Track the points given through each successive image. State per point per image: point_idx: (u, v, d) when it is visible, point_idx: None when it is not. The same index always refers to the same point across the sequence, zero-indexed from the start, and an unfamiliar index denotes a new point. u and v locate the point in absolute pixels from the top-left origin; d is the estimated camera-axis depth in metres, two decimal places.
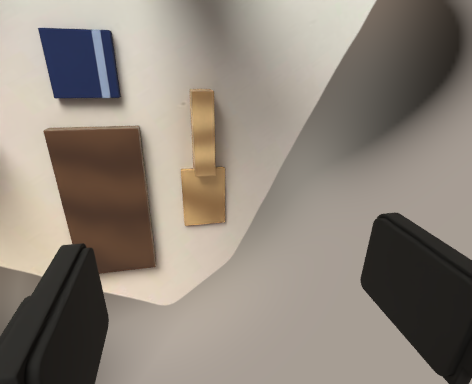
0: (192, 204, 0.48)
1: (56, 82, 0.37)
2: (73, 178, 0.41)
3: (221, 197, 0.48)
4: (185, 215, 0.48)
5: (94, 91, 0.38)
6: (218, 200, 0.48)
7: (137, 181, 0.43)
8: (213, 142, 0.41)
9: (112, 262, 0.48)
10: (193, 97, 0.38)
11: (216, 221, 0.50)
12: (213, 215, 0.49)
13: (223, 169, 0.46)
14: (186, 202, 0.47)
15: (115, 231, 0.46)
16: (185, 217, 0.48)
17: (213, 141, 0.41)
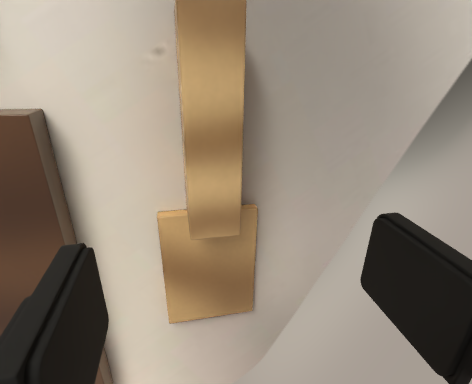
0: (184, 284, 0.22)
1: None
2: None
3: (247, 267, 0.23)
4: (170, 305, 0.23)
5: None
6: (240, 273, 0.23)
7: (46, 248, 0.17)
8: (239, 155, 0.15)
9: None
10: (181, 19, 0.12)
11: (235, 310, 0.24)
12: (229, 301, 0.24)
13: (254, 211, 0.21)
14: (170, 280, 0.22)
15: None
16: (170, 308, 0.23)
17: (239, 152, 0.15)
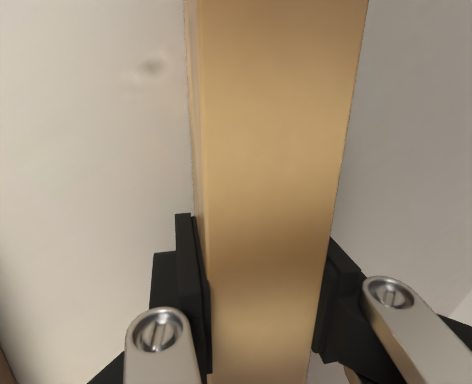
0: None
1: None
2: None
3: None
4: None
5: None
6: None
7: None
8: (316, 280, 0.07)
9: None
10: None
11: None
12: None
13: None
14: None
15: None
16: None
17: (317, 275, 0.07)
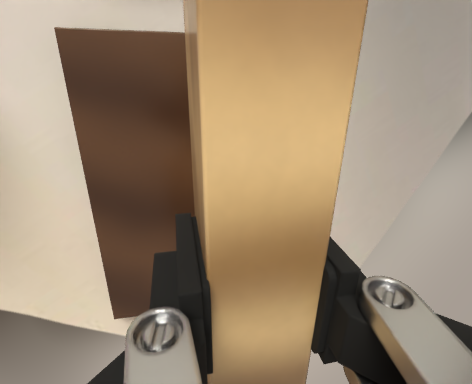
0: None
1: None
2: (111, 138, 0.21)
3: None
4: None
5: None
6: None
7: None
8: (316, 281, 0.07)
9: None
10: None
11: None
12: None
13: None
14: None
15: None
16: None
17: (317, 276, 0.07)
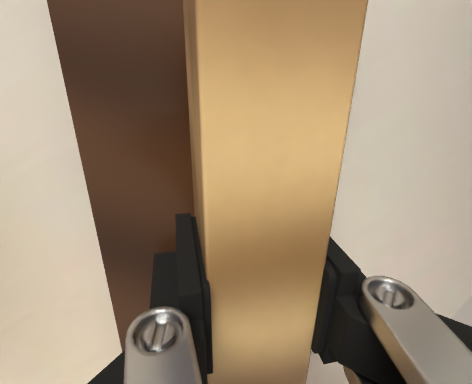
0: None
1: None
2: (138, 157, 0.13)
3: None
4: None
5: None
6: None
7: None
8: (316, 281, 0.07)
9: None
10: None
11: None
12: None
13: None
14: None
15: None
16: None
17: (317, 277, 0.07)
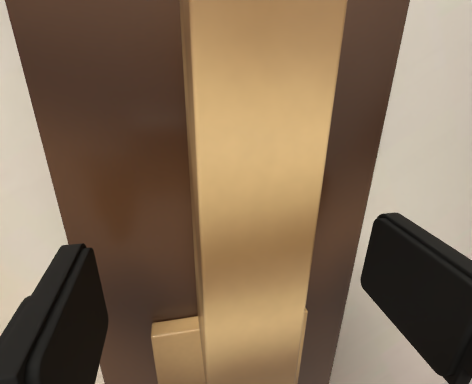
0: None
1: None
2: (127, 189, 0.10)
3: None
4: None
5: None
6: None
7: (346, 199, 0.12)
8: (304, 273, 0.08)
9: None
10: (200, 9, 0.05)
11: None
12: None
13: None
14: None
15: None
16: None
17: (305, 269, 0.08)
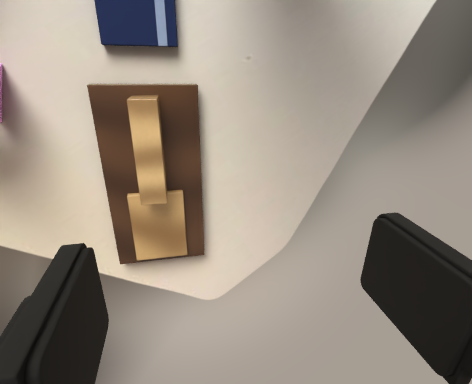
0: (144, 235, 0.39)
1: (105, 23, 0.30)
2: (118, 145, 0.35)
3: (180, 226, 0.40)
4: (136, 248, 0.40)
5: (148, 37, 0.31)
6: (177, 230, 0.40)
7: (192, 151, 0.37)
8: (161, 163, 0.32)
9: None
10: (129, 107, 0.29)
11: (176, 254, 0.41)
12: (172, 247, 0.41)
13: (181, 193, 0.38)
14: (136, 233, 0.39)
15: None
16: (136, 250, 0.40)
17: (161, 162, 0.32)
